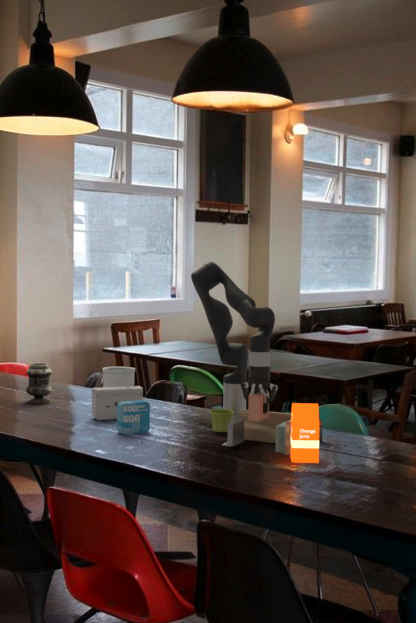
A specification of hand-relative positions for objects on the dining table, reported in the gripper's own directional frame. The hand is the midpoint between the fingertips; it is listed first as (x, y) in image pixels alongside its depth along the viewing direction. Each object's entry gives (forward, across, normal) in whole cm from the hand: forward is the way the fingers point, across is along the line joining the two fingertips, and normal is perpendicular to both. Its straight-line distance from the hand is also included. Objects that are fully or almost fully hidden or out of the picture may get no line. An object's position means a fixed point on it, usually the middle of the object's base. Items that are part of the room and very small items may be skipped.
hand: (258, 412), depth 296 cm
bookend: (+12, -9, 0) cm, 15 cm away
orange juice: (+14, +21, -11) cm, 28 cm away
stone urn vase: (+14, -131, +45) cm, 139 cm away
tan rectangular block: (+2, 0, 0) cm, 2 cm away
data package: (+14, -55, +5) cm, 57 cm away
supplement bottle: (+14, +14, +19) cm, 27 cm away
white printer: (+14, -76, +27) cm, 82 cm away
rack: (+13, +1, +2) cm, 13 cm away
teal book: (+12, +10, 0) cm, 16 cm away
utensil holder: (+14, -92, +53) cm, 107 cm away
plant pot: (+14, -24, +20) cm, 34 cm away
